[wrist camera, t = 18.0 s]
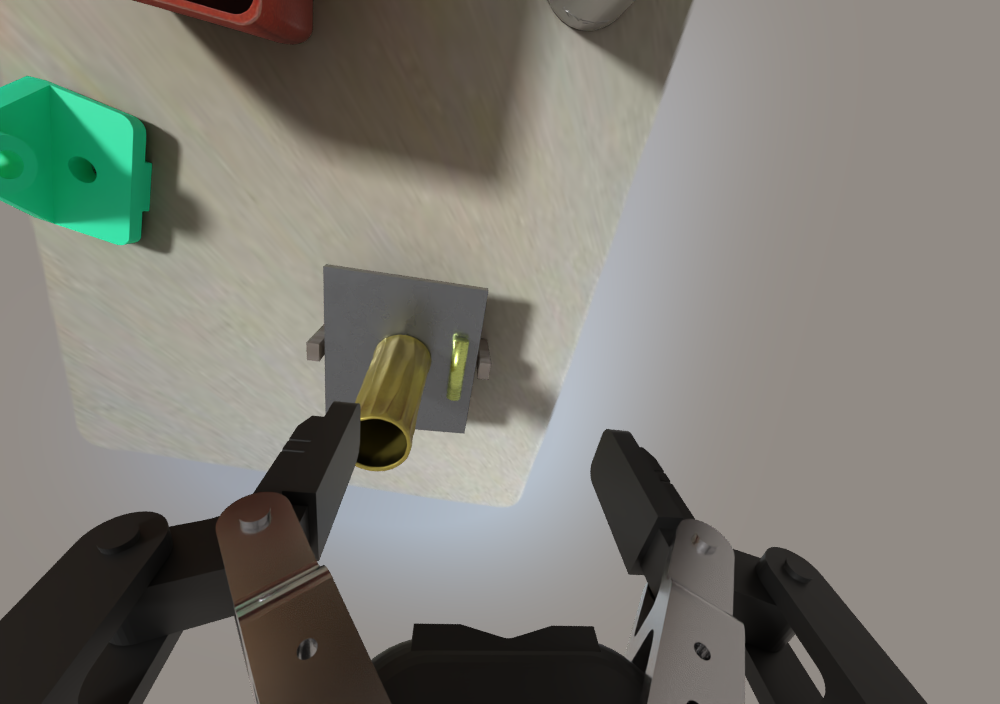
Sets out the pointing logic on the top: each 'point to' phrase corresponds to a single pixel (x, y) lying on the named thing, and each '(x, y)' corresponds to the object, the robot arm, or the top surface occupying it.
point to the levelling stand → (318, 351)
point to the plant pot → (250, 16)
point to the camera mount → (73, 160)
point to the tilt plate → (403, 311)
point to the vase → (391, 402)
